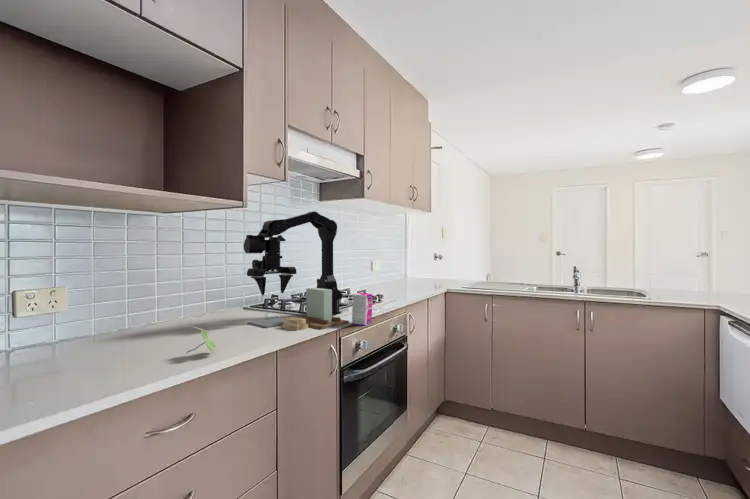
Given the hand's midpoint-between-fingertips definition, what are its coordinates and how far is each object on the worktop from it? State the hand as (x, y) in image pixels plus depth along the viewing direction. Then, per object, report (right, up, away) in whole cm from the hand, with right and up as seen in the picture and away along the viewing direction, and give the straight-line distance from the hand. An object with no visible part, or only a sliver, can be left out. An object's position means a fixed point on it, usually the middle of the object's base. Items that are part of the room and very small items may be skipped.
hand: (272, 294), depth 146 cm
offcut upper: (+10, -10, -9) cm, 17 cm away
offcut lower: (+11, -12, -9) cm, 18 cm away
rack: (+18, -11, -1) cm, 21 cm away
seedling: (-12, -12, -42) cm, 45 cm away
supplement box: (+34, -11, -3) cm, 36 cm away
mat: (0, -11, 0) cm, 11 cm away
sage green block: (+18, -10, -1) cm, 20 cm away
